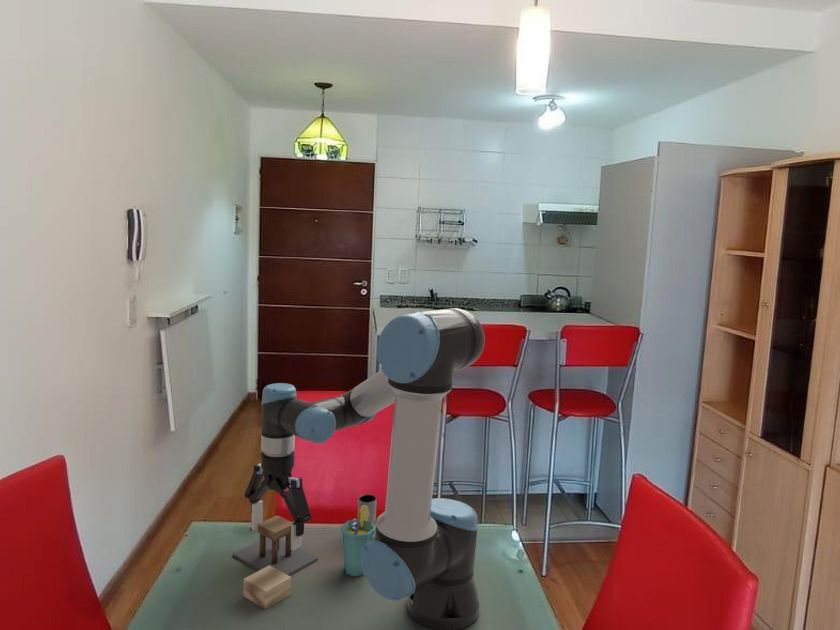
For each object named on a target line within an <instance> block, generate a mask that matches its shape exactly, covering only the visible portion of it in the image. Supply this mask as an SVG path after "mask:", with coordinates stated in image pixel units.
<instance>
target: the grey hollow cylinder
mask: <svg viewBox="0 0 840 630" xmlns="http://www.w3.org/2000/svg"><path fill="white" fill-rule="evenodd" d="M357 501H358V502H357V504H358V505H357V515H358V514H359V511H360V509H361V507H362V505H366V506H368V508H369V518H368V522H371V523H372V525H373V527H374V529H375V530H376V521H377V517H376V516H377V497H376V496H375V495H372V494H362V495H360V496H359V497H358V499H357ZM374 538H375V531H374V533H373V536H372V540H374Z"/></svg>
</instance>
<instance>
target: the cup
mask: <svg viewBox="0 0 840 630" xmlns="http://www.w3.org/2000/svg"><path fill="white" fill-rule="evenodd" d="M368 518H369V508H368V506H366V505H362V507H361V509H360V511H359V514H358V513H357V518H353V519H350V520H347V521H346V522H345V523H343V524H342V525H341V526H340V529H341V533H342V543H343V560H344V561H343V567H344V571H345V574H346V575H349V576H352V577H359V576H360V577H361V576H365V575H364V573H363V570H362V566H361V551H362V549H363V547H364V546H365V545H366V544H367V542H369V541H370V540H373V539H372V536H373V533H374V531H375V530H376V528H375V529H374V527H373V525H372V523H371V522H368Z"/></svg>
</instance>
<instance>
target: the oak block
mask: <svg viewBox="0 0 840 630" xmlns="http://www.w3.org/2000/svg"><path fill="white" fill-rule="evenodd" d="M242 590H243V591H242V592H243V593H242V594H243V595H242V596H243V597H244V598H246V599H248V600H249V601H251V602H253V603H254V604H255V605H257V606H259V607H261V608H262V609H264V610H267V609H268V608H271V607H272V606H274V605H275V604H277V603H279V602H281V601H283V600H284V599H286V598H287V597H289V596H291V595H292V576H291V575H290V576H288V575H287V574H285V573H283V572H281V571H279V570H277V569H276V568H274V567H272V566H270V565H269V566H267V567H265V568H263V569H261V570H257V571H256V572H253V573H252V574H250V575H248V576H246V577H244V578H243V589H242Z"/></svg>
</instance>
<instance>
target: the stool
mask: <svg viewBox="0 0 840 630" xmlns="http://www.w3.org/2000/svg"><path fill="white" fill-rule="evenodd" d="M291 522H292V521H290V520H288V519H286V518H284V517H282V516H280V515H275V516H273V517H271V518H268V519H266V520H263V522H261V523H259V524H257V529H256V532H257V533H258V534H259V541H260V548H259V557H261V558H263V557H265V555H266V538H267V537H268V538H270V539H271V540H272V559H271V563H272V564H277V563H278V550H279V539H282V538H284V537H285V541H286V545H285V556H286V557H290V556H291Z"/></svg>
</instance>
